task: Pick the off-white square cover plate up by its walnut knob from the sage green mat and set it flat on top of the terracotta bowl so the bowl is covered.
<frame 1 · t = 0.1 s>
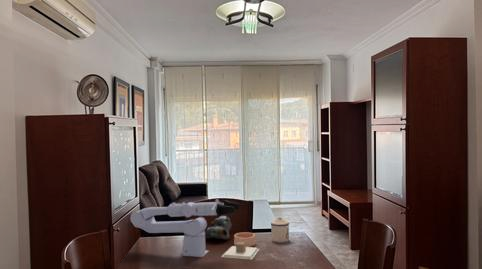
hand: (236, 207, 157), 22 cm above the table, tool horizontal, fingers open, 7 cm apart
bowl: (244, 244, 175), on the table
cover plate: (240, 252, 162), resting on mat
mat: (241, 253, 162), on the table
teacup with lid: (280, 239, 182), on the table
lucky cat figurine: (217, 239, 186), on the table
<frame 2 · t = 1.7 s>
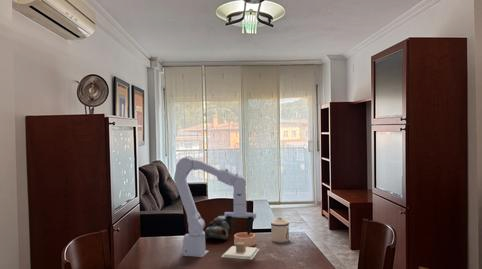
hand: (240, 233, 162), 9 cm above the table, tool pointing down, fingers open, 7 cm apart
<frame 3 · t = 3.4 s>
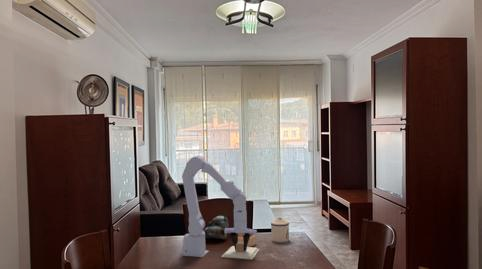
hand: (240, 249, 162), 2 cm above the table, tool pointing down, fingers closed on cover plate, 3 cm apart
cover plate: (240, 252, 162), resting on mat, touching gripper
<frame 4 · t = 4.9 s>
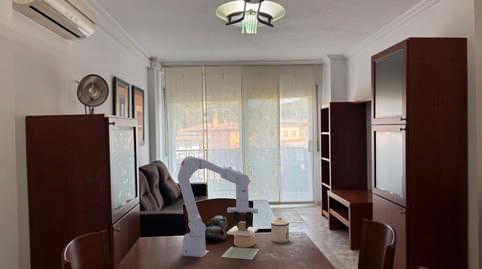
hand: (243, 228, 169), 9 cm above the table, tool pointing down, fingers closed on cover plate, 3 cm apart
cover plate: (242, 231, 169), point 8 cm above the table, touching gripper
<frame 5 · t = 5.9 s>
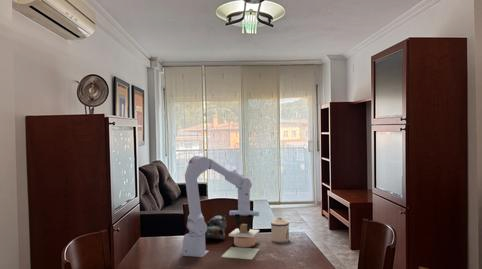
hand: (244, 230, 175), 7 cm above the table, tool pointing down, fingers closed on cover plate, 3 cm apart
cover plate: (244, 233, 175), point 5 cm above the table, touching gripper
when the fingers open (7 cm above the table, at t = 6.5 s): cover plate stays where it is, resting on bowl.
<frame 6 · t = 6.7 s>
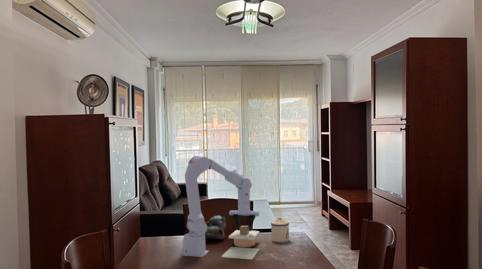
hand: (244, 230, 175), 7 cm above the table, tool pointing down, fingers open, 5 cm apart
cover plate: (244, 235, 175), point 4 cm above the table, touching bowl
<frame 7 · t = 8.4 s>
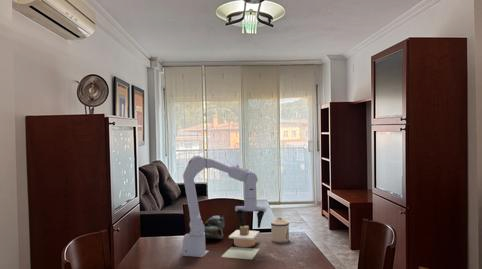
hand: (251, 226, 168), 10 cm above the table, tool pointing down, fingers open, 7 cm apart
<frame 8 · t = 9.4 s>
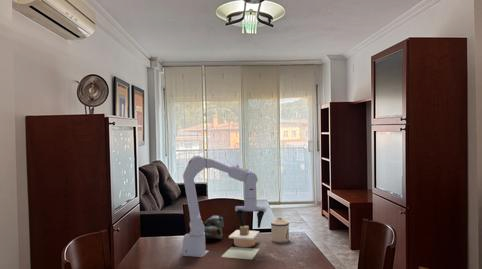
hand: (251, 226, 168), 10 cm above the table, tool pointing down, fingers open, 7 cm apart
at the end: cover plate 0.2 cm off-centre on the bowl, point 4.5 cm above the bowl's base; cover plate tilted 0°; the gripper is holding nothing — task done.
